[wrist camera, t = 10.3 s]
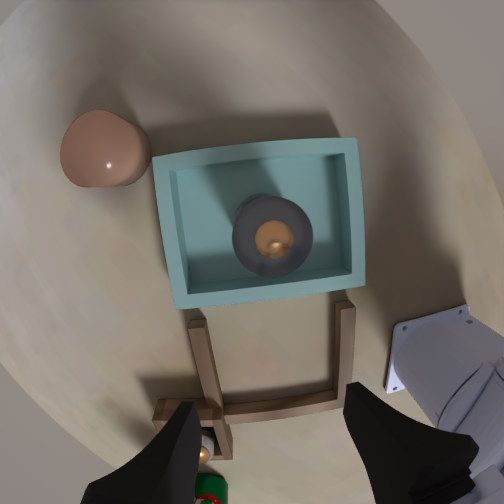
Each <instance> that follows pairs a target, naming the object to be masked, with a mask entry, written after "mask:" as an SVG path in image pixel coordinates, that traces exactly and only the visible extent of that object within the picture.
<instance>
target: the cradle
mask: <svg viewBox="0 0 504 504" xmlns="http://www.w3.org/2000/svg"><path fill="white" fill-rule="evenodd" d="M355 319H356V307H355V306H354V305H353V304H352V302H351V301H350V300H345V301H339V302H335V352H334V379H333V390H328V391H323V392H318V393H313V394H307V395H302V396H295V397H289V398H282V399H275V400H267V401H259V402H250V403H240V404H227V405H224V418H225V422H226V424H238V423H249V422H259V421H268V420H275V419H283V418H289V417H296V416H302V415H307V414H313V413H318V412H323V411H328V410H333V409H337V408H342V407H344V401H345V393H346V384H349V383H352V371H353V358H354V342H355ZM188 331H189V336H190V340H191V344H192V349H193V353H194V357H195V361H196V365H197V369H198V373H199V377H200V381H201V385H202V388H203V392H204V396H205V399H206V403H207V407H208V409H210V408H222V398H223V397H222V392H221V388H220V383H219V379H218V374H217V370H216V365H215V360H214V356H213V351H212V346H211V341H210V336H209V331H208V326H207V320H206V319H198V320H191V322H190V325H189V328H188Z"/></svg>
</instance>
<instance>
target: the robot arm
mask: <svg viewBox="0 0 504 504" xmlns="http://www.w3.org/2000/svg"><path fill="white" fill-rule="evenodd" d="M469 311H470V306H469V305H468V304H465V305H461V306H458V307H455V308H452V309H448V310H445V311H442V312H438V313H435V314H431V315H428V316H424V317H420V318H417V319H413V320H409V321H405V322H401V323H398V324H396V325H395V327H394V330H393V339H392V347H391V355H390V362H389V369H388V375H387V381H386V386H385V391H386V393H392V392H396V391H399V390H402V389H405V388H406V389H407V390H408V392H409V393H410V394H411V396H412V397H413V398H414V400H415V401H416V402H417V404H418V405H419V406H420V408H421V409H422V410H423V412H424V413H425V414H426V416H427V417H428V418H429V420H430V421H431V422H432V424H433V425H434V426H435V428H433V427H431V426H428V425H425V424H423V423H420V422H418V421H416V420H414V419H412V418H409V417H407V416H406V415H404V414H402V413H400V412H399V411H397V410H395V409H394V408H392V407H391V406H389V405H388V404H387V403H385V402H384V401H382V400H381V399H380V398H378V397H377V396H376V395H374V394H373V393H372V392H371V391H369V390H368V389H367V388H366V387H365V386H363V385H362V384H361V383H359V382H354V383H349V384H346V393H345V401H344V409H343V415H344V418H345V422H346V425H347V428H348V431H349V433H350V435H351V437H352V439H353V442H354V444H355V446H356V448H357V450H358V452H359V454H360V456H361V458H362V461H363V463H364V465H365V468H366V471H367V474H368V477H369V480H370V483H371V487H372V491H373V494H374V498H375V502H376V504H504V337H502V336H501V335H500V334H498V333H497V332H495V331H494V330H492V329H491V328H489V327H488V326H486V325H485V324H483V323H482V322H480V321H479V320H477V319H476V318H474V317H473V316H471V315H470V314H469ZM404 326H405V328H404V329H403V327H404ZM201 447H202V427H201V424H200V420H199V417H198V414H197V410H196V407H195V403H194V401H182V402H181V403H180V404H179V405H178V407H177V408H176V410H175V411H174V413H173V414H172V416H171V417H170V418H169V420H168V421H167V423H166V424H165V425H164V426H163V428H162V429H161V430H160V432H159V433H158V434H157V435H156V436H155V437H154V439H153V440H152V441H151V442H150V443H149V444H148V445H147V446H146V447H145V448H144V449H143V450H142V451H141V452H140V453H139V454H137V455H136V456H135V457H134V458H133V459H131V460H130V461H129V462H127V463H126V464H125V465H123V466H122V467H120V468H119V469H117V470H115V471H114V472H112V473H110V474H108V475H106V476H104V477H102V478H100V479H98V480H96V481H94V482H91V483H89V485H88V486H87V488H86V490H85V493H84V495H83V498H82V501H81V503H80V504H194V492H195V482H196V476H197V470H198V465H199V459H200V453H201Z"/></svg>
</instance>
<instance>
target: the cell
mask: <svg viewBox="0 0 504 504" xmlns="http://www.w3.org/2000/svg"><path fill="white" fill-rule="evenodd" d="M232 244H233V249H234V252H235V254H236V256H237V258H238V260H239V261H240V262H241V264H242V265H243V266H244V267H245V268H247V269H248V270H249V271H251V272H253V273H255V274H257V275H260V276H264V277H280V276H284V275H287V274H289V273H291V272H293V271H295V270H296V269H297V268H299V267H300V266H301V265H302V264H303V263H304V261H305V260H306V259H307V257H308V255H309V253H310V251H311V248H312V244H313V229H312V225H311V222H310V219H309V218H308V216H307V214H306V213H305V212H304V210H303V209H302V208H301V207H300V206H298V205H297V204H296V203H294V202H292V201H290V200H288V199H285V198H282V197H279V196H275V195H272V194H267V193H259V194H255V195H252V196H250V197H248V198H246V199H245V200H244V201H243V202H242V203H241V204H240V205H239V207H238V208H237V210H236V213H235V217H234V223H233V231H232Z"/></svg>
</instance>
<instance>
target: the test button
mask: <svg viewBox="0 0 504 504" xmlns="http://www.w3.org/2000/svg"><path fill="white" fill-rule="evenodd" d="M214 438H215V433H214V430H213V429H212V428H211V427H210V426H209V427H202V447H201V453H200V459H199V464H202V463H205V462H207V461H209V460H211V459H212V457H213V453H214Z"/></svg>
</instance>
